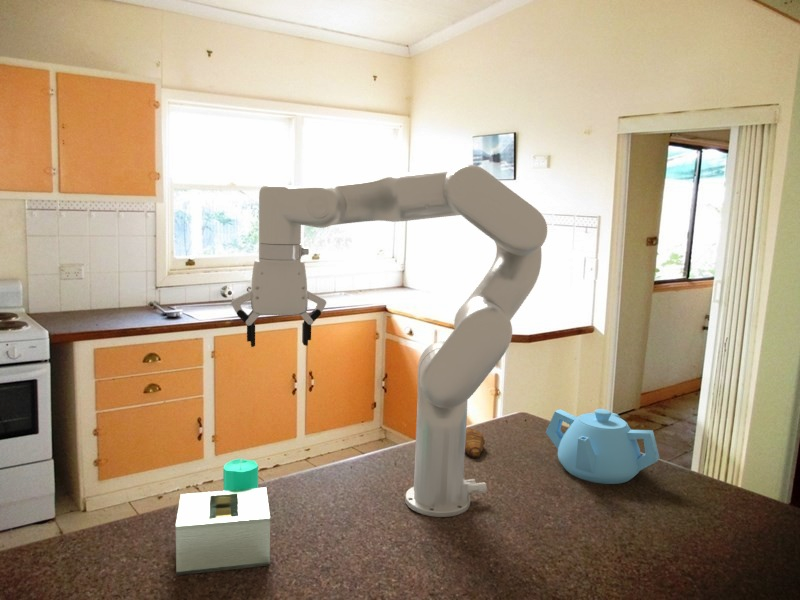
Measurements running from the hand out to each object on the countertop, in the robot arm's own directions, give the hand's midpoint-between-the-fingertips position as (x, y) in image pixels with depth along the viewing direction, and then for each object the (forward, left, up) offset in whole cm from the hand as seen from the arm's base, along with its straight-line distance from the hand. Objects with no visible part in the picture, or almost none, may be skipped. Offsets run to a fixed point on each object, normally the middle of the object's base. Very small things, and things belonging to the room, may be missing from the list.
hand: (279, 344), depth 120 cm
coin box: (+10, +18, -30) cm, 37 cm away
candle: (+7, +8, -31) cm, 32 cm away
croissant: (-46, -17, -31) cm, 58 cm away
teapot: (-70, 0, -31) cm, 76 cm away
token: (+10, +14, -27) cm, 32 cm away
